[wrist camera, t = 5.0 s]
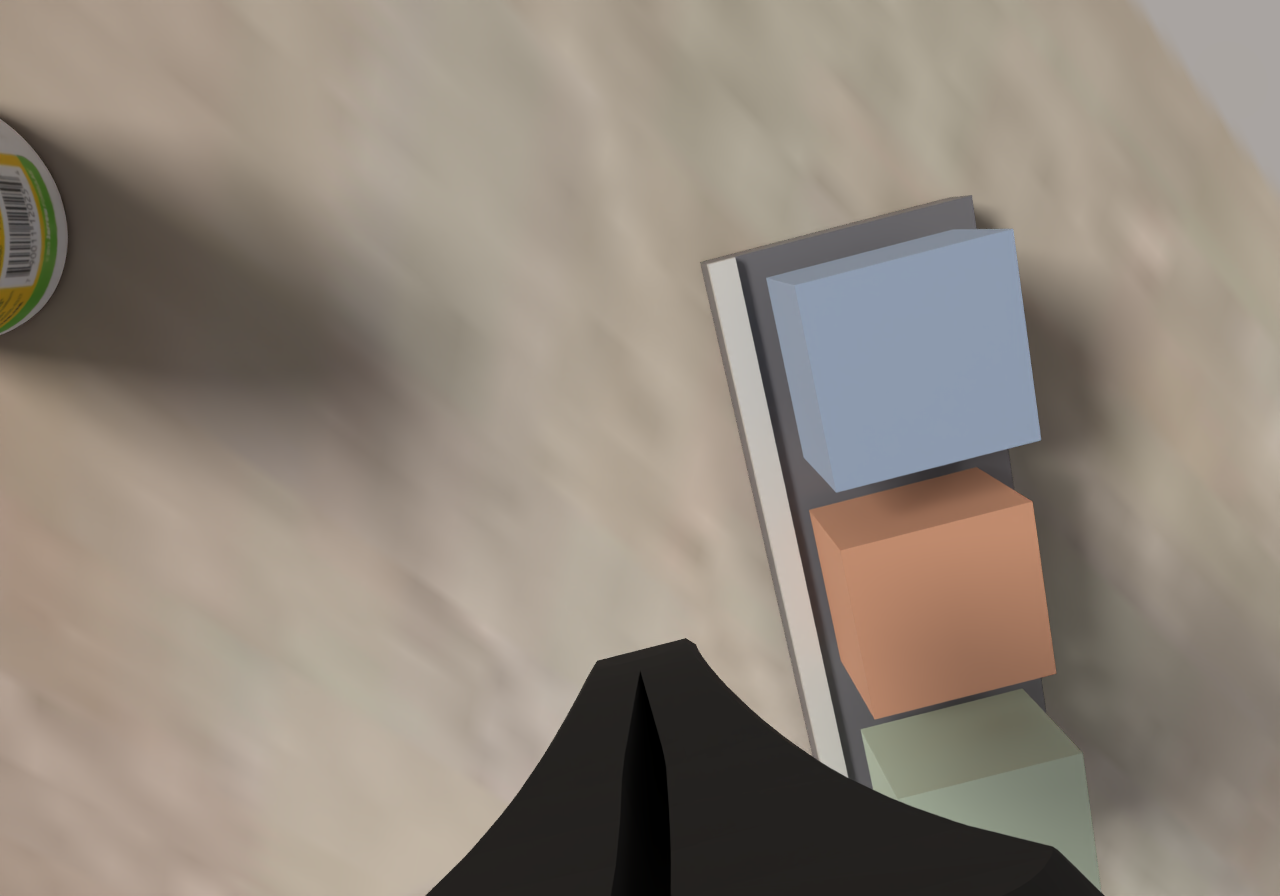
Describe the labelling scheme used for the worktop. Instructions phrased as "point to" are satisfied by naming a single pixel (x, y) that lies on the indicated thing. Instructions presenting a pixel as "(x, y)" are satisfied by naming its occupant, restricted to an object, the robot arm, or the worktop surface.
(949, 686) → the terracotta key
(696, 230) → the worktop surface
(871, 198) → the worktop surface
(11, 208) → the supplement bottle
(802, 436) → the light blue square block
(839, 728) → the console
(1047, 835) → the sage key
